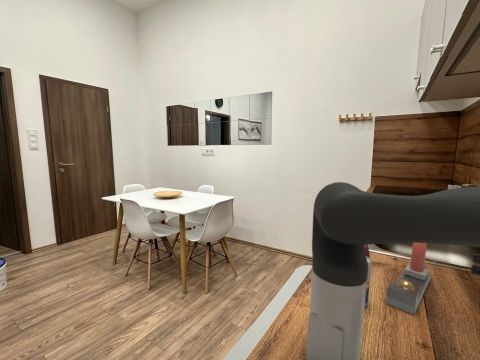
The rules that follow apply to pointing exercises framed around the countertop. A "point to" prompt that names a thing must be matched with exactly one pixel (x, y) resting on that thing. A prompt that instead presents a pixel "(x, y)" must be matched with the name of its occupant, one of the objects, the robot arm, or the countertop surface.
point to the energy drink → (368, 281)
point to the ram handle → (417, 262)
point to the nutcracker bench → (417, 288)
